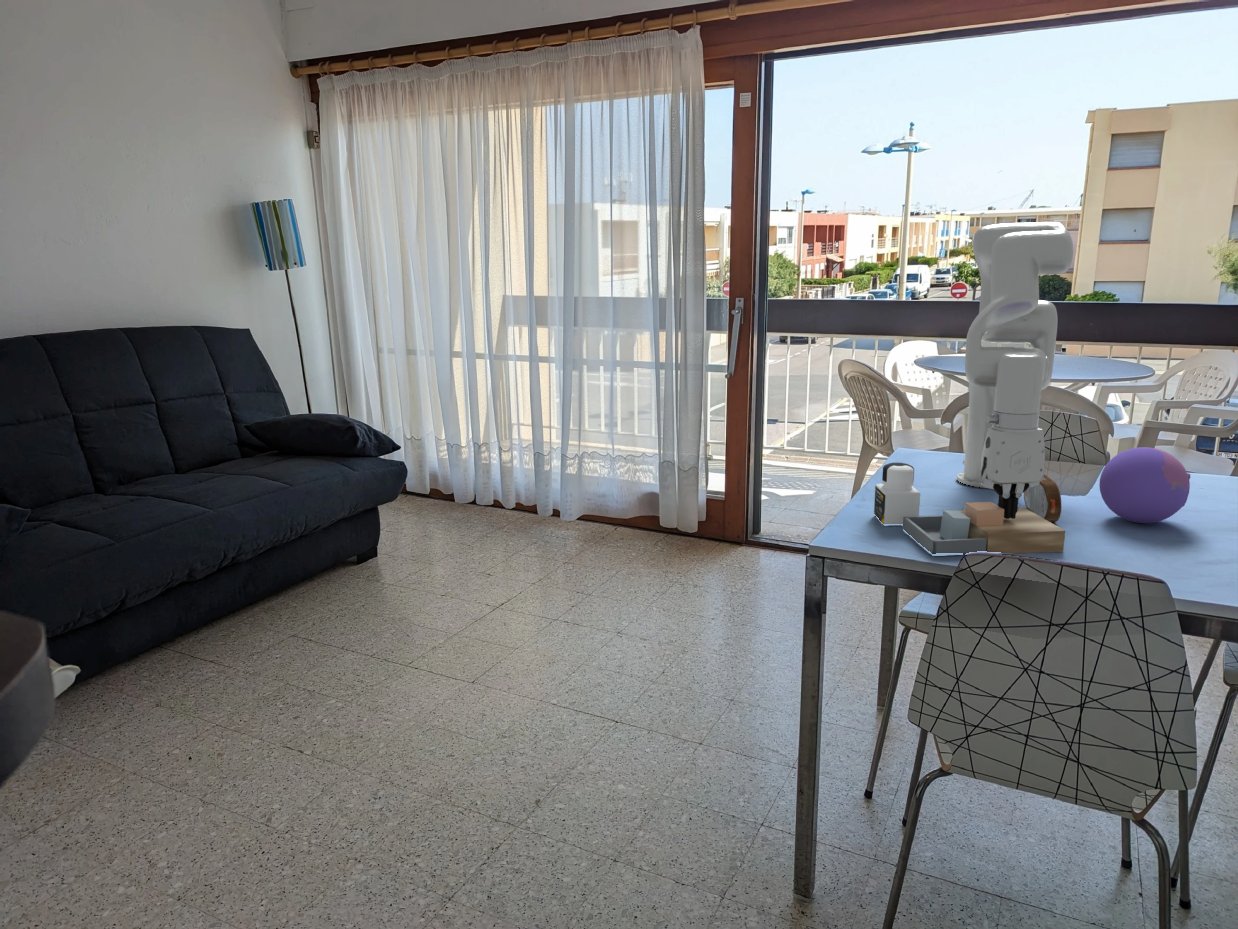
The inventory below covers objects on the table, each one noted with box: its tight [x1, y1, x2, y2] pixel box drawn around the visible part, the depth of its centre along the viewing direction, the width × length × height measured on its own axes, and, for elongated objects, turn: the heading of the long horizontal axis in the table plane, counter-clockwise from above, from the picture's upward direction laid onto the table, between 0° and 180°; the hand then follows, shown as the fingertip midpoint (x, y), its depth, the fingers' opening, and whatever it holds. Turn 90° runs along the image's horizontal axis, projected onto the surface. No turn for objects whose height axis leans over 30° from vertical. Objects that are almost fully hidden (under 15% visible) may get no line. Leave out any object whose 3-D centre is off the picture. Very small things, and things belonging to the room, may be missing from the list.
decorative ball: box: [1099, 446, 1191, 524], centre depth 161 cm, size 15×15×15 cm
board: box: [959, 507, 1066, 555], centre depth 154 cm, size 14×14×4 cm
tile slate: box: [940, 509, 970, 540], centre depth 153 cm, size 5×5×3 cm
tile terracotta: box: [964, 501, 1004, 526], centre depth 153 cm, size 5×5×3 cm
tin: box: [1023, 473, 1062, 523], centre depth 167 cm, size 15×3×8 cm, turn 172°
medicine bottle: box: [873, 462, 921, 524], centre depth 166 cm, size 7×7×12 cm
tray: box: [902, 515, 987, 555], centre depth 154 cm, size 14×10×3 cm
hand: (1006, 516), depth 153 cm, fingers closed
